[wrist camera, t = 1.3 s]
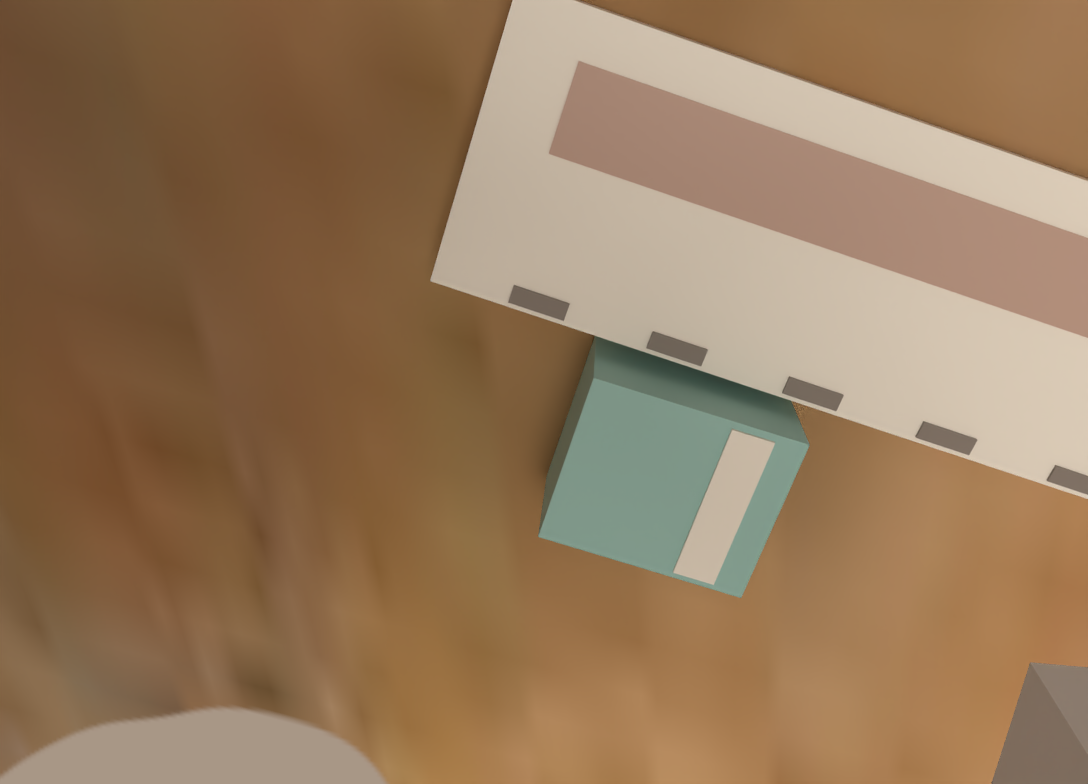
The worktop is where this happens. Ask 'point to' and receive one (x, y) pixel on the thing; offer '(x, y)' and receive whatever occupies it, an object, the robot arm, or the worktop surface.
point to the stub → (670, 468)
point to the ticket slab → (779, 238)
